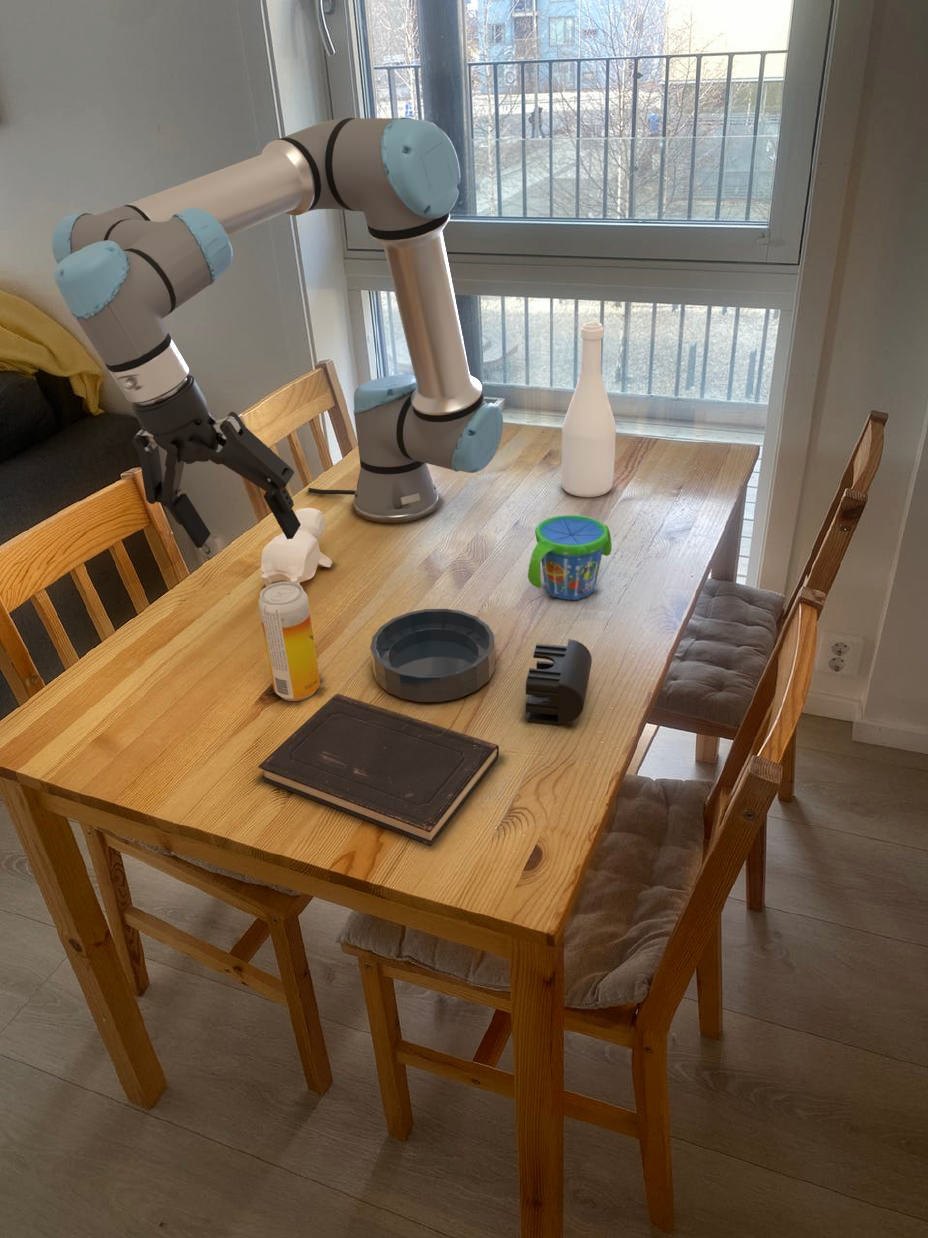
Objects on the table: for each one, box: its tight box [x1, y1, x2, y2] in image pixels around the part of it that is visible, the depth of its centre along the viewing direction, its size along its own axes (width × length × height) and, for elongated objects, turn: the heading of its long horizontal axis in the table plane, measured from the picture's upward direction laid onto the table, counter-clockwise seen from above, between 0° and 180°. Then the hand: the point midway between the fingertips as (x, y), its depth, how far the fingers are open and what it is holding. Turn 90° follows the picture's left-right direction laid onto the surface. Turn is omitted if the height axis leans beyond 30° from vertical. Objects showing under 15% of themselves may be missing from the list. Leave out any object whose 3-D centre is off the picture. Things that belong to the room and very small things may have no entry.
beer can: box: [257, 582, 321, 702], centre depth 121 cm, size 6×6×15 cm
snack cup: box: [527, 514, 613, 601], centre depth 141 cm, size 16×10×10 cm
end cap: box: [525, 638, 593, 726], centre depth 118 cm, size 10×7×7 cm
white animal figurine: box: [260, 507, 333, 587], centre depth 151 cm, size 9×8×15 cm
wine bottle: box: [560, 321, 617, 498], centre depth 167 cm, size 10×10×30 cm
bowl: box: [370, 608, 496, 703], centre depth 127 cm, size 16×16×4 cm
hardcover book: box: [257, 693, 500, 846], centre depth 110 cm, size 16×23×2 cm
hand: (248, 536), depth 117 cm, fingers open, 13 cm apart
